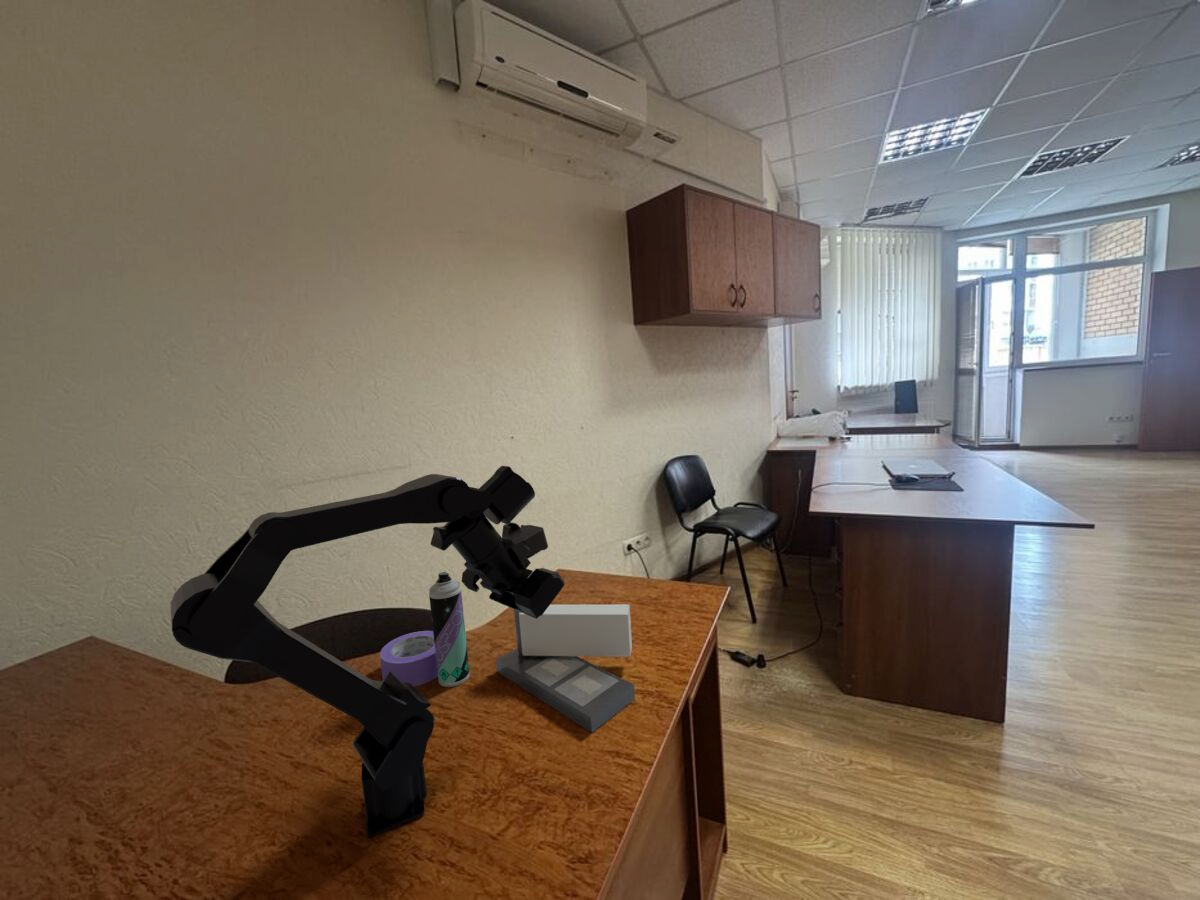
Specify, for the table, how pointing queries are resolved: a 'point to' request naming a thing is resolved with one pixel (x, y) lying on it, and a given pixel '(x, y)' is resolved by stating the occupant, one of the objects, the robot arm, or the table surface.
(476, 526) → the robot arm
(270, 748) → the table surface
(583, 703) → the server tray
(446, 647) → the spray can
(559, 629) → the upright grey slab
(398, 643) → the tape roll
